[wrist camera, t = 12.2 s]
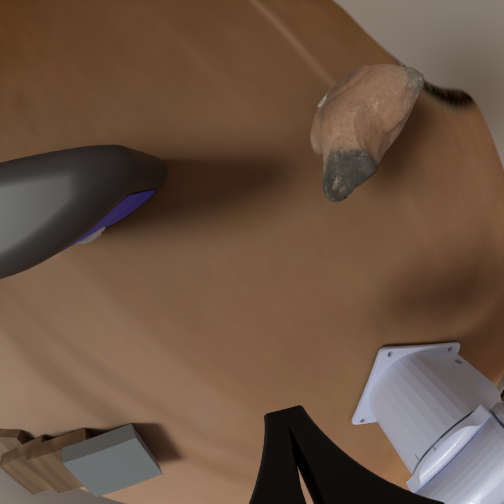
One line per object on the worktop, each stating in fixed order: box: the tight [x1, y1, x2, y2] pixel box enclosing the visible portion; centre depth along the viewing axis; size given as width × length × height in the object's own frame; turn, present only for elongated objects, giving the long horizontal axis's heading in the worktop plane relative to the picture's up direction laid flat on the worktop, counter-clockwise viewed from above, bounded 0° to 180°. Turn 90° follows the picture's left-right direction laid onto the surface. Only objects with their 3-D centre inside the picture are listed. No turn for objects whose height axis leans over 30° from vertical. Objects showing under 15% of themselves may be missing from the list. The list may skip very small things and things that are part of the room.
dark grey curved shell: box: [0, 145, 167, 279], centre depth 12 cm, size 16×5×9 cm, turn 90°
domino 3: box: [26, 427, 93, 493], centre depth 19 cm, size 2×5×7 cm
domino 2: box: [0, 435, 53, 495], centre depth 19 cm, size 2×5×7 cm
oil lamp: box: [310, 64, 424, 202], centre depth 14 cm, size 9×4×8 cm, turn 144°
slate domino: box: [62, 423, 163, 497], centre depth 19 cm, size 2×5×7 cm
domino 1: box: [0, 429, 30, 457], centre depth 20 cm, size 2×5×7 cm
